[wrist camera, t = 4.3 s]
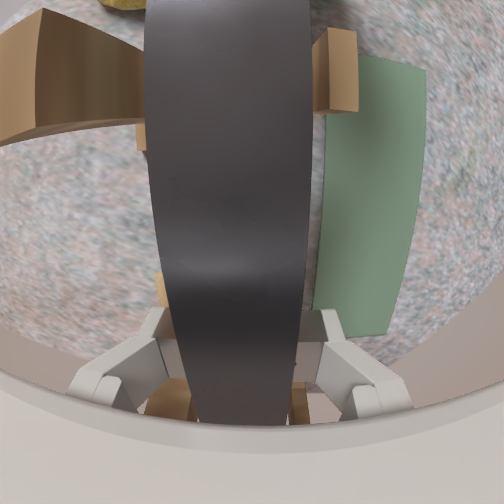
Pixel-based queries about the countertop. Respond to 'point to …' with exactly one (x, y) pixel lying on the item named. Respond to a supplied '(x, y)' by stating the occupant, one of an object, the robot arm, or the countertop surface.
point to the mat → (371, 196)
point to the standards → (129, 116)
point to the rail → (231, 193)
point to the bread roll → (125, 4)
